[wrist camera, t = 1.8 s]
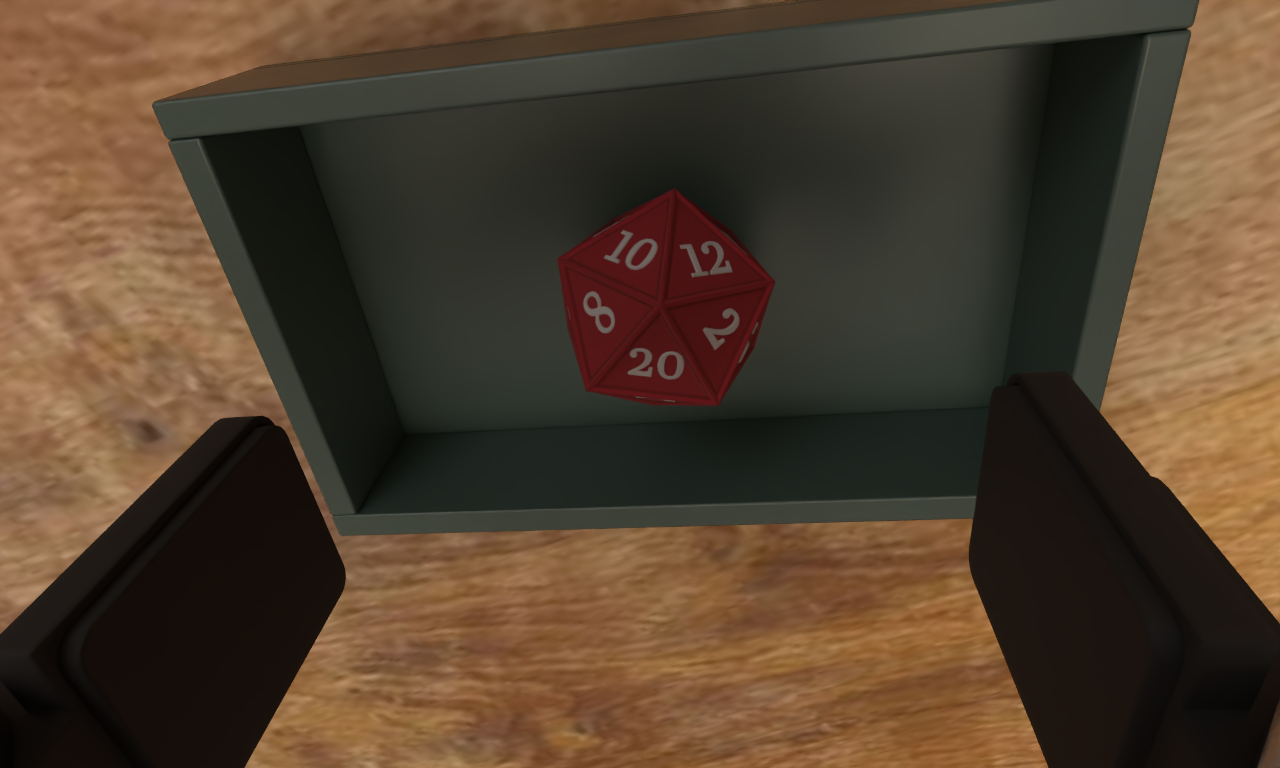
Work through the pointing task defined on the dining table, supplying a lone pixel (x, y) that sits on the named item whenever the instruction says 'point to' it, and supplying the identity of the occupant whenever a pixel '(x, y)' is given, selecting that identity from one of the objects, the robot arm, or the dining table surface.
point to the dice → (663, 304)
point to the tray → (731, 193)
